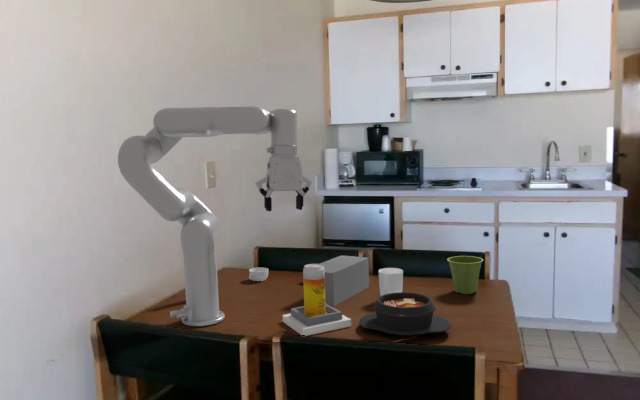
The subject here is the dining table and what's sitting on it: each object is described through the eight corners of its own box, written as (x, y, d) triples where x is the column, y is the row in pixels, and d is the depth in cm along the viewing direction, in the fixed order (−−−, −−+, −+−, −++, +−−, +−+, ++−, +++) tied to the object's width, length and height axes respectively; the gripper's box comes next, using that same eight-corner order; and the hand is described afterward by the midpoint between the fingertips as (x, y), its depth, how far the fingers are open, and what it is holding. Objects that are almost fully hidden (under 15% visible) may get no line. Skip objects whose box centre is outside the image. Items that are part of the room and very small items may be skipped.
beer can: (323, 320, 145) (322, 268, 144) (302, 320, 146) (301, 267, 145) (327, 314, 151) (325, 263, 150) (306, 313, 152) (305, 263, 151)
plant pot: (469, 285, 184) (469, 254, 183) (490, 294, 173) (490, 260, 172) (440, 289, 181) (440, 257, 179) (460, 298, 169) (460, 264, 168)
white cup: (374, 301, 169) (373, 271, 168) (387, 295, 174) (387, 266, 173) (394, 305, 163) (394, 274, 162) (407, 299, 169) (407, 269, 168)
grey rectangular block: (314, 280, 198) (313, 252, 197) (369, 287, 186) (368, 257, 185) (275, 297, 177) (274, 266, 176) (334, 306, 165) (333, 273, 164)
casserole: (353, 338, 136) (353, 307, 136) (364, 316, 154) (363, 288, 154) (451, 344, 131) (451, 312, 130) (450, 320, 149) (450, 291, 148)
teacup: (258, 277, 206) (258, 265, 206) (277, 280, 200) (277, 268, 200) (240, 282, 198) (240, 270, 198) (259, 286, 192) (259, 274, 192)
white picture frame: (303, 336, 139) (302, 322, 139) (282, 321, 151) (282, 308, 151) (351, 326, 146) (351, 312, 145) (327, 312, 158) (327, 300, 158)
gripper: (260, 151, 144) (260, 212, 146) (316, 152, 152) (315, 210, 153) (251, 151, 151) (252, 209, 153) (306, 151, 158) (305, 207, 160)
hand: (284, 210), depth 153 cm, fingers open, 9 cm apart
